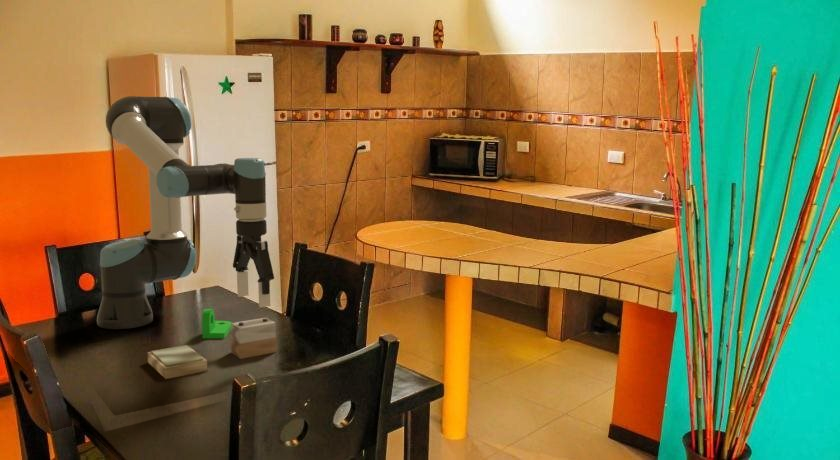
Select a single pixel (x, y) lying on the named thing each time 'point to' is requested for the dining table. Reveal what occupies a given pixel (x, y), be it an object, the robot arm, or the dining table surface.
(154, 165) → the robot arm
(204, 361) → the stand
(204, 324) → the mechanical part
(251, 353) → the block
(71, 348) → the dining table surface
